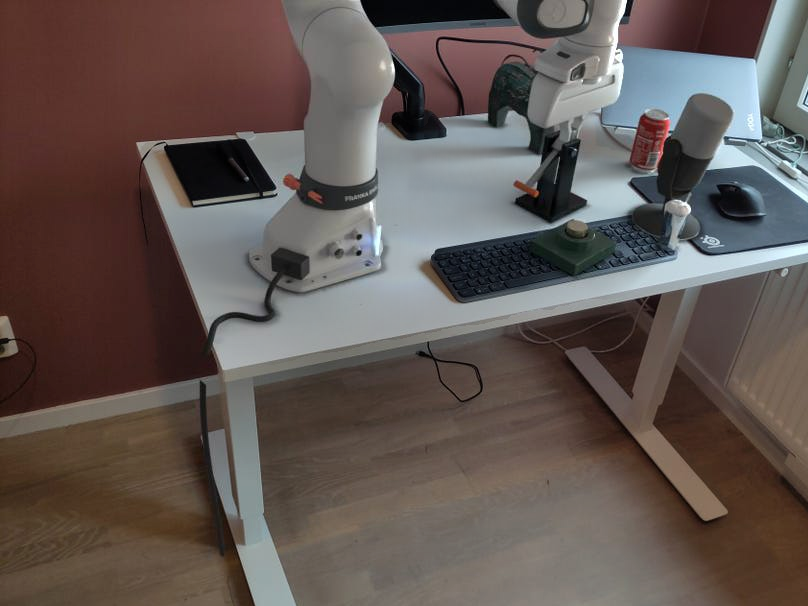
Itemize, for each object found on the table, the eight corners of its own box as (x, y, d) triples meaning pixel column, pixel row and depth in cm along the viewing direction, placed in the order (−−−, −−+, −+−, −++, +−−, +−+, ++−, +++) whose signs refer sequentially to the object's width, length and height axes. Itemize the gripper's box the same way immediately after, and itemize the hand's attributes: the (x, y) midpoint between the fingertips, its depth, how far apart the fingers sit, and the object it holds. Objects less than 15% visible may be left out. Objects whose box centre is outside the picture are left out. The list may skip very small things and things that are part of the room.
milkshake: (686, 247, 152) (701, 198, 145) (669, 256, 149) (683, 207, 142) (666, 236, 154) (680, 188, 148) (649, 244, 151) (662, 196, 145)
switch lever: (535, 200, 149) (533, 192, 147) (515, 189, 151) (511, 181, 149) (577, 150, 151) (575, 142, 149) (556, 140, 153) (554, 132, 151)
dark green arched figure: (559, 154, 176) (576, 60, 163) (537, 160, 173) (552, 65, 160) (500, 117, 187) (512, 27, 174) (478, 123, 184) (488, 31, 171)
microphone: (671, 248, 151) (710, 118, 135) (618, 216, 158) (649, 89, 142) (712, 228, 158) (754, 103, 142) (660, 199, 165) (694, 76, 149)
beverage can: (655, 162, 178) (669, 109, 170) (659, 176, 173) (674, 121, 165) (626, 159, 178) (639, 105, 170) (630, 172, 173) (643, 118, 165)
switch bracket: (550, 223, 153) (563, 155, 144) (514, 203, 157) (524, 136, 149) (586, 205, 160) (600, 139, 151) (550, 187, 164) (562, 121, 155)
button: (577, 242, 142) (579, 233, 141) (561, 233, 144) (563, 224, 143) (590, 235, 144) (592, 226, 143) (573, 226, 146) (575, 217, 145)
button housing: (573, 276, 140) (577, 256, 138) (529, 250, 145) (532, 231, 143) (614, 252, 148) (619, 233, 145) (570, 229, 152) (574, 210, 150)
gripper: (608, 38, 136) (590, 118, 145) (528, 60, 123) (514, 146, 132) (639, 50, 133) (619, 131, 142) (560, 75, 120) (544, 162, 129)
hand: (568, 139), depth 137 cm, fingers closed
